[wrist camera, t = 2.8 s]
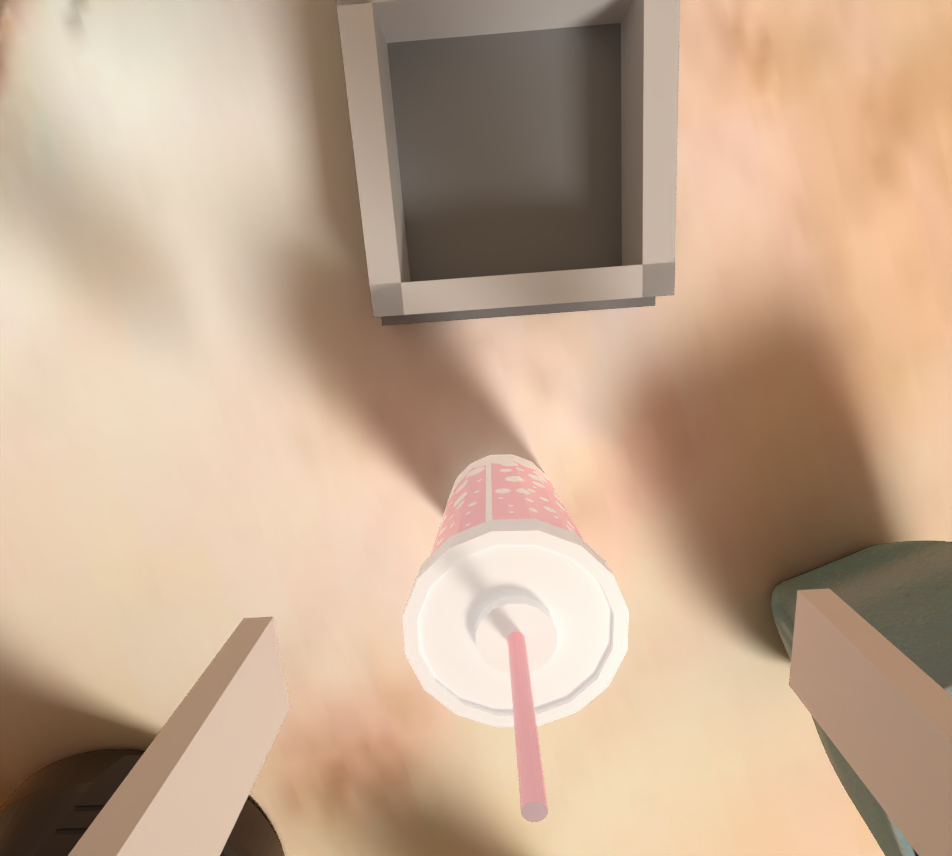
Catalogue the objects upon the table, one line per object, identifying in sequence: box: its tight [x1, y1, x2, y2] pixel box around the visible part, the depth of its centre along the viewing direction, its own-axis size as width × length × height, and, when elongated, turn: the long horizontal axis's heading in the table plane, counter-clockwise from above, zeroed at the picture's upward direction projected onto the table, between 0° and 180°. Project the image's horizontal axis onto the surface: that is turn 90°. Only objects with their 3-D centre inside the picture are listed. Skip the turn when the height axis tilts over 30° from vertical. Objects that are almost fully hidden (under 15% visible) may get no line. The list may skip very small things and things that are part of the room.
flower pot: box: [771, 541, 952, 856], centre depth 20 cm, size 9×9×9 cm
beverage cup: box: [403, 454, 629, 822], centre depth 16 cm, size 6×6×14 cm
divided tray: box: [336, 0, 680, 325], centre depth 17 cm, size 10×19×4 cm, turn 4°
